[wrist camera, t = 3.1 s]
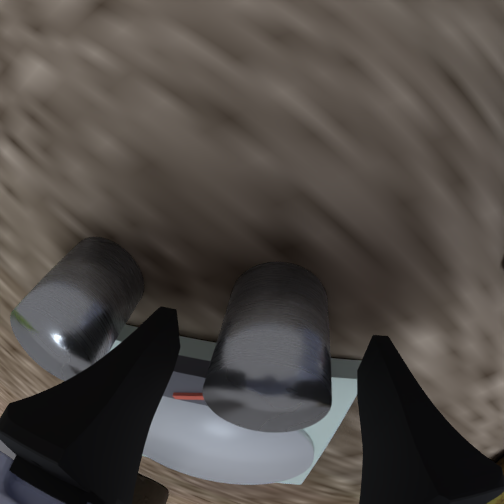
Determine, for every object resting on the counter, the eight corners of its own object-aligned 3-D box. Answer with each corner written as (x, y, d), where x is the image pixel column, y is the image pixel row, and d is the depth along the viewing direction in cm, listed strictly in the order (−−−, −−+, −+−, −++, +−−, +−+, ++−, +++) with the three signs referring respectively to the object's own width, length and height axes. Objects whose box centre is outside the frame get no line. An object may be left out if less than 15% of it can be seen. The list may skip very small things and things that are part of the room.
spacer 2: (233, 255, 13) (199, 352, 8) (336, 269, 12) (347, 371, 8) (230, 329, 15) (204, 422, 10) (316, 341, 14) (316, 437, 10)
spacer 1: (65, 232, 13) (-4, 296, 9) (139, 242, 13) (75, 322, 9) (82, 299, 15) (32, 367, 11) (149, 314, 15) (106, 396, 11)
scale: (79, 312, 16) (57, 341, 14) (362, 360, 15) (366, 400, 13) (135, 443, 24) (127, 464, 22) (300, 474, 23) (298, 498, 21)
